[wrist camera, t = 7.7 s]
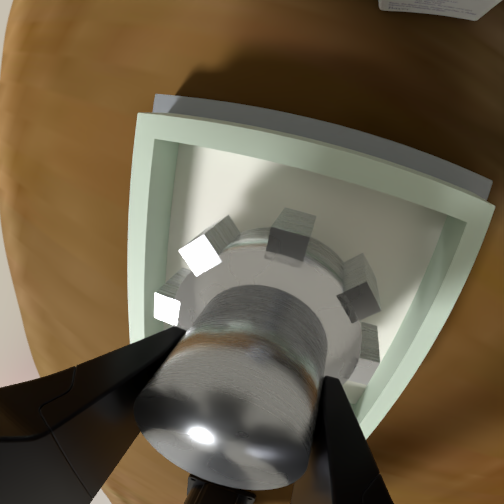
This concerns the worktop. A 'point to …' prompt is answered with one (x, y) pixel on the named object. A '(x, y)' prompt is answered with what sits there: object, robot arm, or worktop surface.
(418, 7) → the medicine box
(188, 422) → the gear
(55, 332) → the worktop surface
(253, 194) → the square tray
